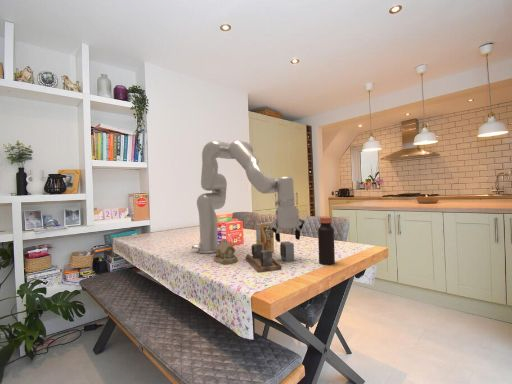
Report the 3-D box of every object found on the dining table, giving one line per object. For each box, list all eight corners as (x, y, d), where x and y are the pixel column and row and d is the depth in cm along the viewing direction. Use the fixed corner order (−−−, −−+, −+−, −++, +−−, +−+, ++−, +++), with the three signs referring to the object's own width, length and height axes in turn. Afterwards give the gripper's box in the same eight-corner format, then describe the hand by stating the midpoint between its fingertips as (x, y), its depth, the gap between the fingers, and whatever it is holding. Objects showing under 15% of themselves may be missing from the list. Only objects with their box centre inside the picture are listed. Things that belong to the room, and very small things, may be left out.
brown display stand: (258, 272, 109) (257, 254, 109) (245, 259, 129) (245, 244, 128) (281, 269, 112) (280, 251, 112) (265, 257, 131) (265, 242, 131)
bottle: (327, 266, 115) (326, 219, 114) (315, 262, 120) (314, 217, 120) (338, 262, 119) (336, 217, 118) (325, 259, 124) (324, 216, 124)
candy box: (269, 250, 145) (268, 221, 145) (274, 251, 142) (273, 222, 142) (256, 253, 140) (255, 223, 139) (261, 255, 137) (260, 224, 136)
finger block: (285, 262, 123) (284, 244, 122) (280, 259, 128) (279, 242, 128) (294, 261, 124) (293, 243, 124) (288, 257, 130) (288, 241, 129)
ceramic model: (210, 259, 133) (209, 238, 132) (231, 255, 138) (230, 235, 138) (221, 266, 120) (220, 243, 120) (243, 261, 126) (242, 240, 126)
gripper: (271, 205, 119) (273, 244, 120) (306, 202, 124) (308, 239, 124) (265, 204, 126) (267, 241, 127) (299, 202, 131) (301, 237, 132)
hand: (288, 240), depth 126 cm, fingers open, 9 cm apart
